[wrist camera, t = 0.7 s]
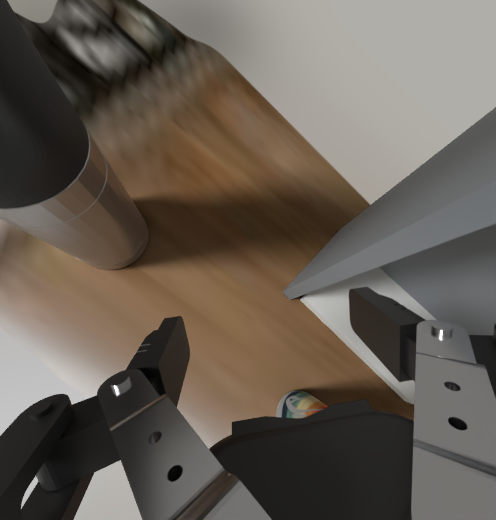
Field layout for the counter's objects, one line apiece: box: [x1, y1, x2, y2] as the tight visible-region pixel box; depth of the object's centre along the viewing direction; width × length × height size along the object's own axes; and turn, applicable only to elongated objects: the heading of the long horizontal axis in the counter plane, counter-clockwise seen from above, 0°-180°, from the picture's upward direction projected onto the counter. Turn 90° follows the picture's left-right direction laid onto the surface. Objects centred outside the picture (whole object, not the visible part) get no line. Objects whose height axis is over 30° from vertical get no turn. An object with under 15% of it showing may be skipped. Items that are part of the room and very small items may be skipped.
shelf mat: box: [300, 267, 436, 404], centre depth 35 cm, size 19×12×2 cm, turn 46°
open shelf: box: [283, 107, 496, 335], centre depth 20 cm, size 22×14×32 cm, turn 46°
